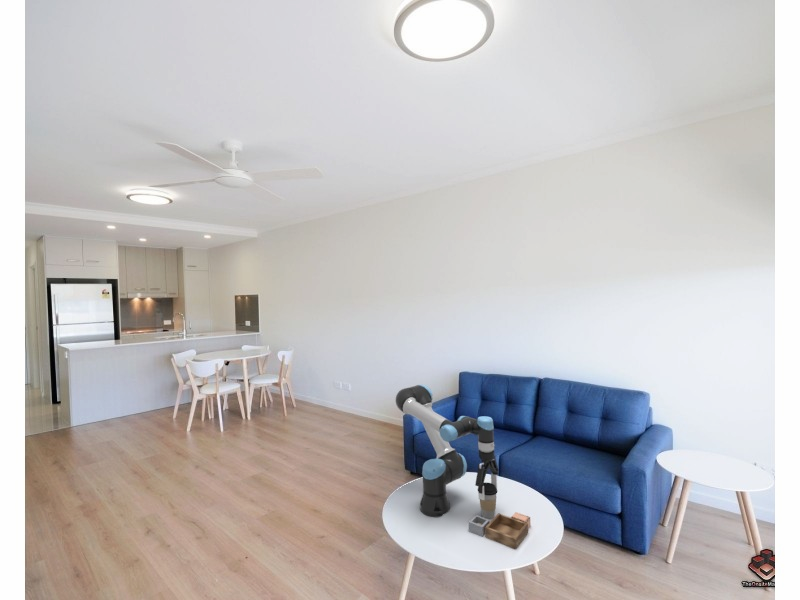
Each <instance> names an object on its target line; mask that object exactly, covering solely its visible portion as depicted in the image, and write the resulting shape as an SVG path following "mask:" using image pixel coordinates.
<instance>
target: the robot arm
mask: <svg viewBox="0 0 800 600" xmlns="http://www.w3.org/2000/svg"><path fill="white" fill-rule="evenodd" d="M432 401H433V392H432V390H431V389H430V388H429V387H428V386H427V385H425V384H417V385H414V386H410V387H405V388H402V389H400V390H398V392H397V394H396V395H395V404H396V407H397V408H398V409H399V410H400V412H402V413H403V414H406V415H410V416H412V417H414V418H416V419H417V420H418V421H419V422H421V424H422V426H423V428H424V429H425V432H426V434H427V436H428V438H429V440H430V443H431V444H432V446H433V449H434V451H435V453H436V458H431V459H428V460H426V461H425V462H424V463H423V465H422V472H421V475H422V490H423V491H422V495H421V496H422V497H421V500H420V504H419V505H420V506H419V509H420V512H422V513H423V514H424V515H426V516H427V517H434V518H438V517H442V516H444V515H446V514H447V513H449V511H450V509H451V504H450V501H449V497H448V495H447V485H448V484H450V483H452V482H455V481H457V480H460V479H461V478H462V477H464V476H465V475H466V473H467V468H468V464H467V461H466V458H465V456H464V455H463V454H461V453H460V452H459V453H458V452H457V450H456V448H453V447H452V446H451V444H450V442H453V441H456V440H458V439H460V438H462V437H465V436H467V435H469V434H470V435H475V436H477V439H478V440H477V441H478V445H477V446H478V457H479V459H480V460H481V462H480V463H478V464H477V473H476V479H475V484H474V485H475V486H476V487H477V492H478V495H477V496H478V500H480V499H481V500H485V497H484V486H483V484H484V483H485V480H486V476H487V473H488V472H489V471H490V473H491V474H490V480H491V481H490V483H492V484H494V485H495V486H496V488H497V489H498V479H497V478H498V476H499V472H500V469H499V467H498V466H499V465H498V463H497V460H496V455H495V446H496V444H495V439H494V434H495V431H494V429H495V427H494V420H493V418H492V417H490V416H485V415H484V416H478V417H477V418H473V417H470V416H468V415H467V416H466V415H461V416H459V417H458V418H457V420H456V421H451V420H449V419H447V418H446V417H444V416H443V415H441V414H438V413H437V412H435V411H434V410H433V408H432V406H433V402H432Z"/></svg>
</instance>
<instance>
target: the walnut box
mask: <svg viewBox="0 0 800 600" xmlns="http://www.w3.org/2000/svg"><path fill="white" fill-rule="evenodd" d="M511 517H512V516H507V515H505V514H502V513H497V515H496V514H495V517H494V518H493V519H491V520H490V523H489V524H488V525H487V526H486V527H485V535H484V536H485V538H486V539H489V540H491V541H494V542H497V543H499V544H502V545H504V546H506V547H509V548H511V549H514V550H518V548H519V546H520V545H521V543H522V541H524V539H526V537H527V535H528V534H529V529H528V523H525V522H522V521H519V520H517V519H514V518H511Z"/></svg>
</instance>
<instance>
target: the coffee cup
mask: <svg viewBox="0 0 800 600" xmlns="http://www.w3.org/2000/svg"><path fill="white" fill-rule="evenodd" d="M483 486H484V497H485V500H481V499H479V505H480V510H481V511H480V512H481V515H482V516H481V517H483V518H486V519H489V520H493V519H494V518H495V517H496V508H497V493H498V487H497V488H496V486H495V485H494V484H492V483H491V482H484V484H483Z"/></svg>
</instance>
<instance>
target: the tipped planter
mask: <svg viewBox="0 0 800 600" xmlns="http://www.w3.org/2000/svg"><path fill="white" fill-rule="evenodd" d="M510 517H511V518H514V519H517V520H519V521H522V522H525V523H528V530H529V529H530V528H531V517H530V516H528V515H525V514H522V513H520V512H516V511H515V512H514V513H513V514H512V516H510Z"/></svg>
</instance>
